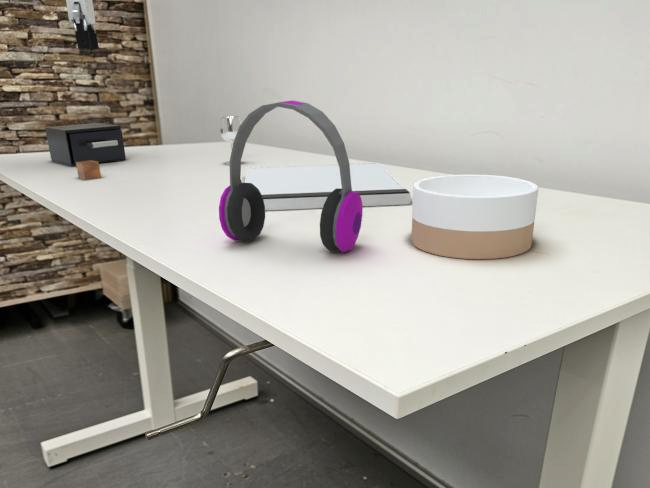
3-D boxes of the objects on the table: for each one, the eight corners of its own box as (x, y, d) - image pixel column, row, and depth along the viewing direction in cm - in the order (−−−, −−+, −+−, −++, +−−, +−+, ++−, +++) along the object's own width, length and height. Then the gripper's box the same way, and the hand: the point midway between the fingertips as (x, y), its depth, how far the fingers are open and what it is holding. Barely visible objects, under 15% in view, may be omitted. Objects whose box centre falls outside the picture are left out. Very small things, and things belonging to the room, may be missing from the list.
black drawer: (133, 159, 168) (129, 130, 165) (82, 166, 160) (77, 135, 156) (105, 154, 181) (100, 126, 178) (56, 159, 172) (51, 131, 169)
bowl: (533, 263, 79) (541, 199, 75) (402, 255, 83) (404, 194, 80) (530, 230, 94) (536, 175, 91) (419, 225, 98) (421, 172, 95)
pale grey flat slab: (410, 191, 111) (241, 198, 109) (410, 204, 112) (242, 211, 110) (378, 162, 143) (246, 167, 141) (378, 173, 144) (247, 178, 142)
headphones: (215, 246, 89) (201, 103, 81) (246, 232, 97) (236, 99, 89) (346, 261, 81) (345, 103, 74) (368, 244, 89) (369, 99, 81)
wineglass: (220, 163, 164) (216, 117, 159) (241, 161, 166) (237, 115, 161) (226, 166, 159) (222, 118, 154) (247, 164, 161) (244, 117, 156)
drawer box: (125, 160, 173) (120, 125, 170) (71, 167, 164) (64, 130, 160) (103, 156, 183) (98, 122, 179) (51, 162, 174) (44, 127, 170)
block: (85, 180, 144) (82, 163, 142) (78, 178, 147) (75, 162, 145) (101, 178, 146) (98, 161, 145) (94, 176, 149) (91, 160, 147)
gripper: (68, -22, 158) (81, 50, 165) (51, -31, 143) (65, 48, 150) (98, -22, 159) (109, 49, 166) (84, -32, 144) (97, 47, 151)
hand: (88, 49), depth 158 cm, fingers open, 9 cm apart
